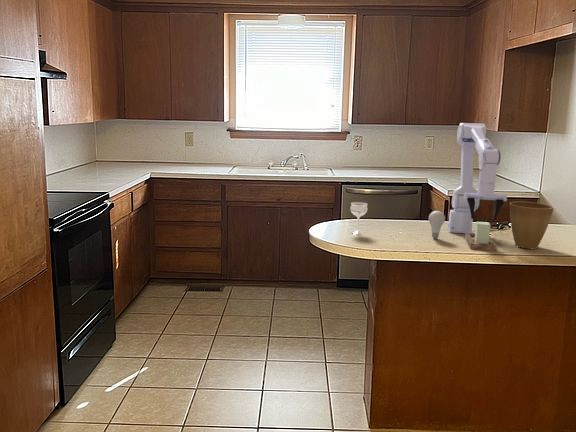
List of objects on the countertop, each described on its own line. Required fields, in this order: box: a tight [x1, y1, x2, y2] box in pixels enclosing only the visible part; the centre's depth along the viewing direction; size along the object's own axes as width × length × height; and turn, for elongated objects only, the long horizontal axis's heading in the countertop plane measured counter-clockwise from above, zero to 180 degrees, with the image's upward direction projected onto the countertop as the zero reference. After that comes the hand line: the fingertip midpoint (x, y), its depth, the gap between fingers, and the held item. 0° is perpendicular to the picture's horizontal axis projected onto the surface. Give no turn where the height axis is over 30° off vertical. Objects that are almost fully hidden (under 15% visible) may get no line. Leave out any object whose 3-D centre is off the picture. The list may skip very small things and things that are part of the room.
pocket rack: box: [464, 232, 497, 252], centre depth 208 cm, size 9×17×2 cm, turn 169°
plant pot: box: [509, 201, 554, 250], centre depth 205 cm, size 15×15×16 cm
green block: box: [474, 221, 491, 244], centre depth 204 cm, size 4×4×9 cm
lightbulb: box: [428, 210, 446, 239], centre depth 214 cm, size 6×6×11 cm
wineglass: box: [349, 201, 368, 235], centre depth 219 cm, size 7×7×12 cm
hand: (483, 219), depth 203 cm, fingers open, 7 cm apart
